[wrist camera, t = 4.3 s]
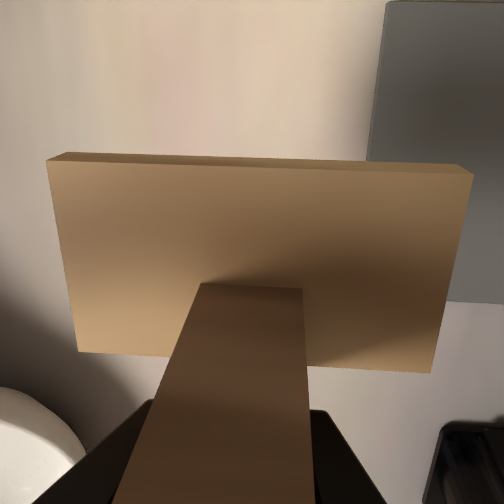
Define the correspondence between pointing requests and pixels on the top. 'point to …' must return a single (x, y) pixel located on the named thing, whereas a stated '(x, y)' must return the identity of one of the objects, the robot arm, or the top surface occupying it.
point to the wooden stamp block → (251, 299)
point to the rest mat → (449, 120)
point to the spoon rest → (32, 448)
